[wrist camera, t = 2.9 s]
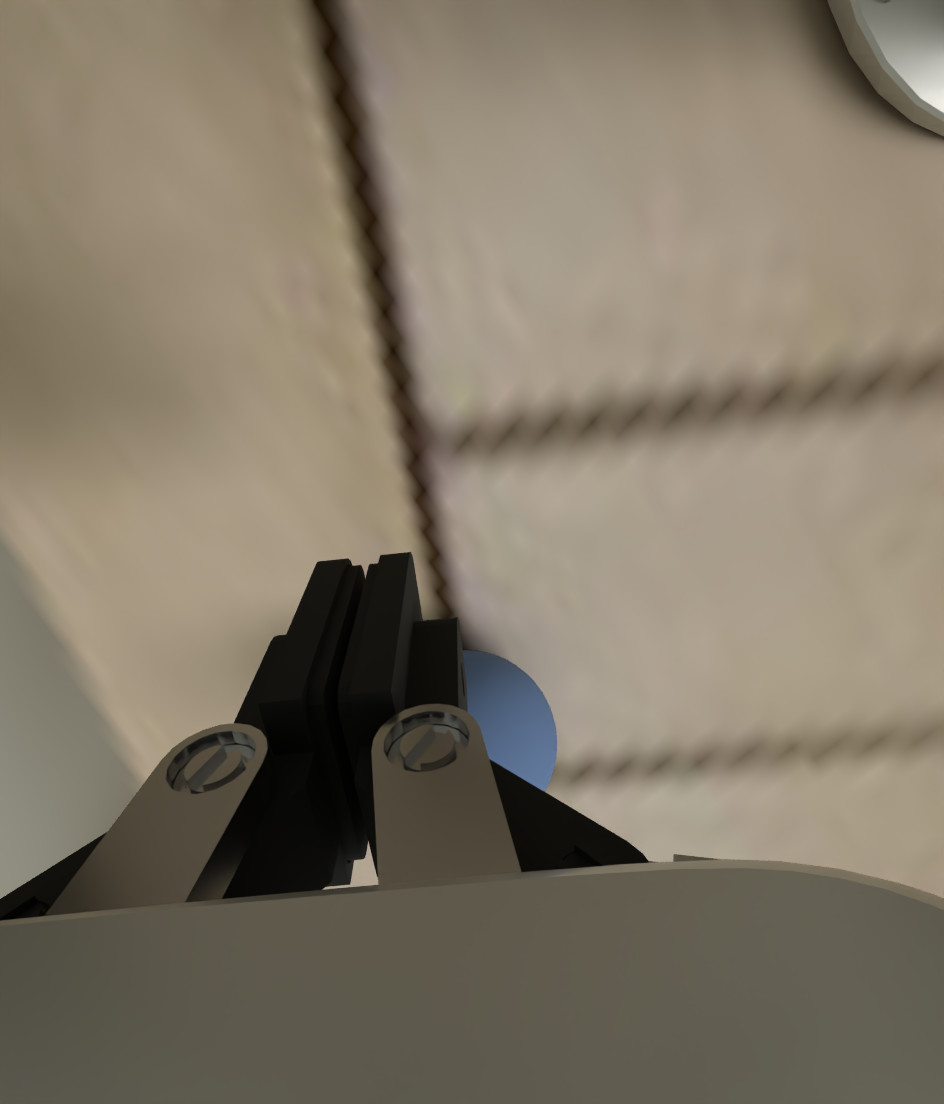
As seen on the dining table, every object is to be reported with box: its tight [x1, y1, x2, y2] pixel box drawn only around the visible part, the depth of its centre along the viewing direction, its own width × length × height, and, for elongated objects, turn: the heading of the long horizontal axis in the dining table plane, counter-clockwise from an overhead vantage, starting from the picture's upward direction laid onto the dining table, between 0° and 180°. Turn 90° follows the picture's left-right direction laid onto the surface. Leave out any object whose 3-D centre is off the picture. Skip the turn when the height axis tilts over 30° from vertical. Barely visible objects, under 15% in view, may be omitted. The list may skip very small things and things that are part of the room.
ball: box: [463, 650, 557, 792], centre depth 22 cm, size 6×6×6 cm
